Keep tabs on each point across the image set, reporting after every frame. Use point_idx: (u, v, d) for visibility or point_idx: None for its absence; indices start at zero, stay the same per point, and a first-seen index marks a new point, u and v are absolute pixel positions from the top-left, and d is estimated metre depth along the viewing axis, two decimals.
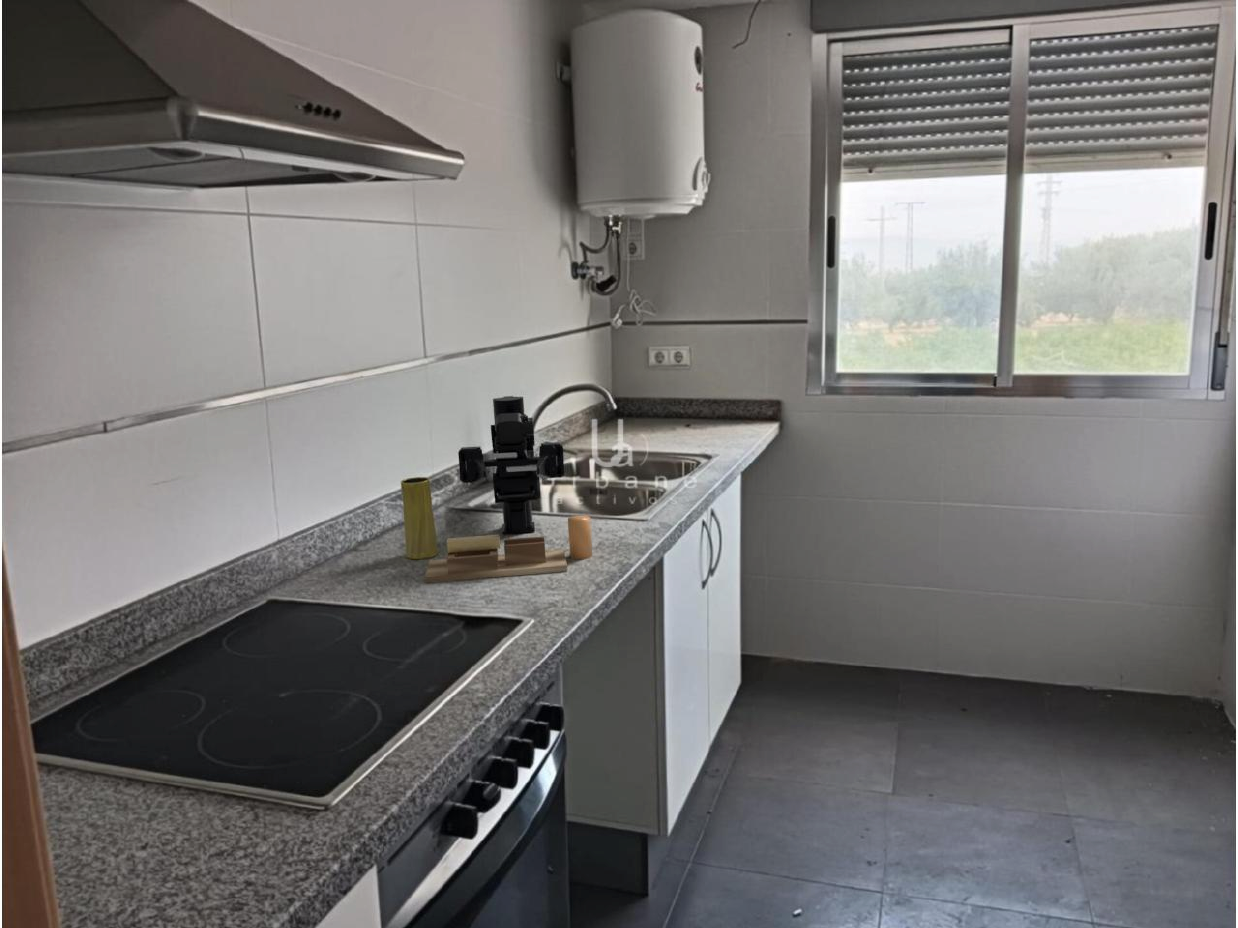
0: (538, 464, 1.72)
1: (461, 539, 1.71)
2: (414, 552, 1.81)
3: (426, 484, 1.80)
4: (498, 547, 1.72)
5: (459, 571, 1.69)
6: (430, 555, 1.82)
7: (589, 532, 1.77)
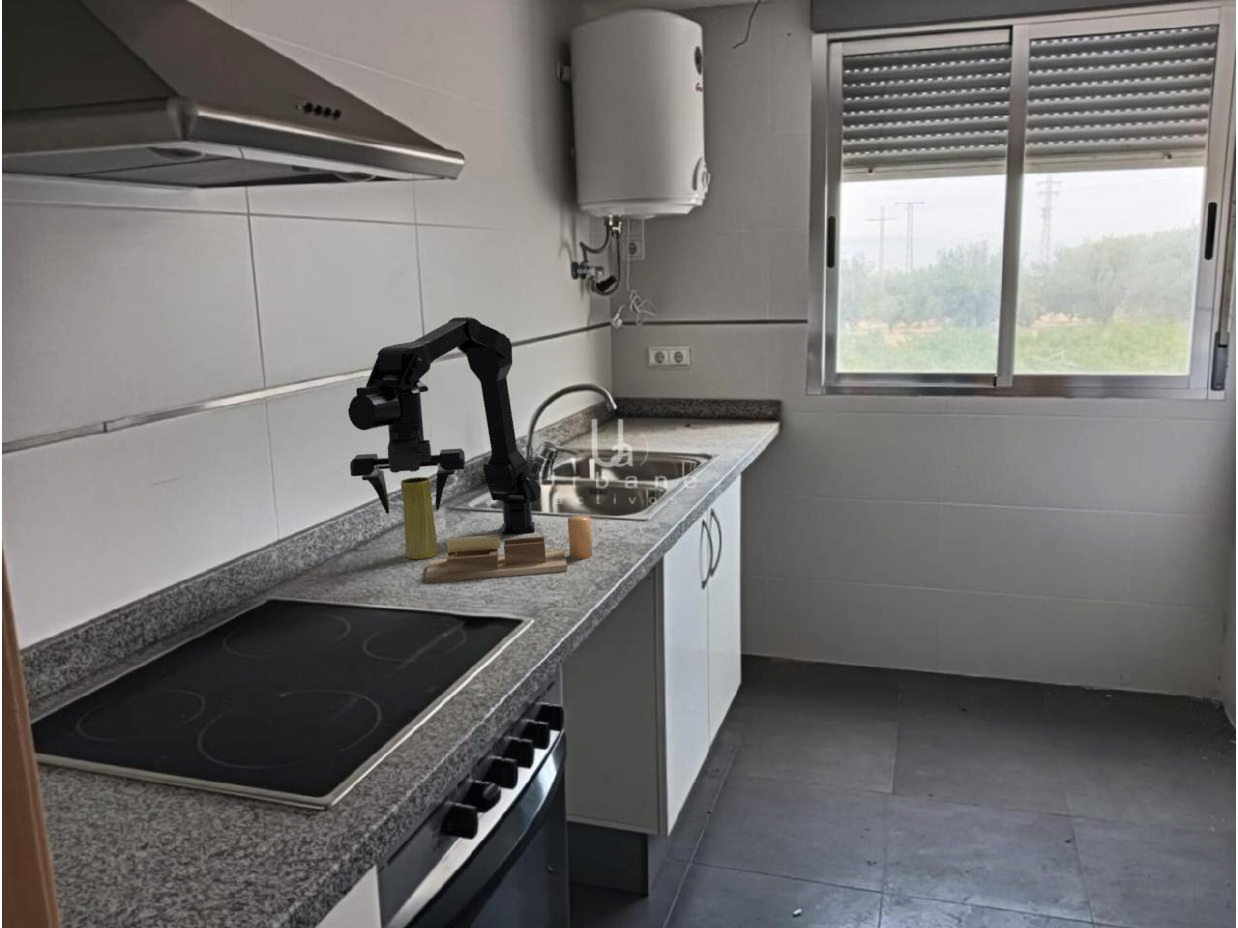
0: (437, 502, 1.69)
1: (461, 539, 1.71)
2: (414, 552, 1.81)
3: (426, 484, 1.80)
4: (498, 547, 1.72)
5: (459, 571, 1.69)
6: (430, 555, 1.82)
7: (589, 532, 1.77)
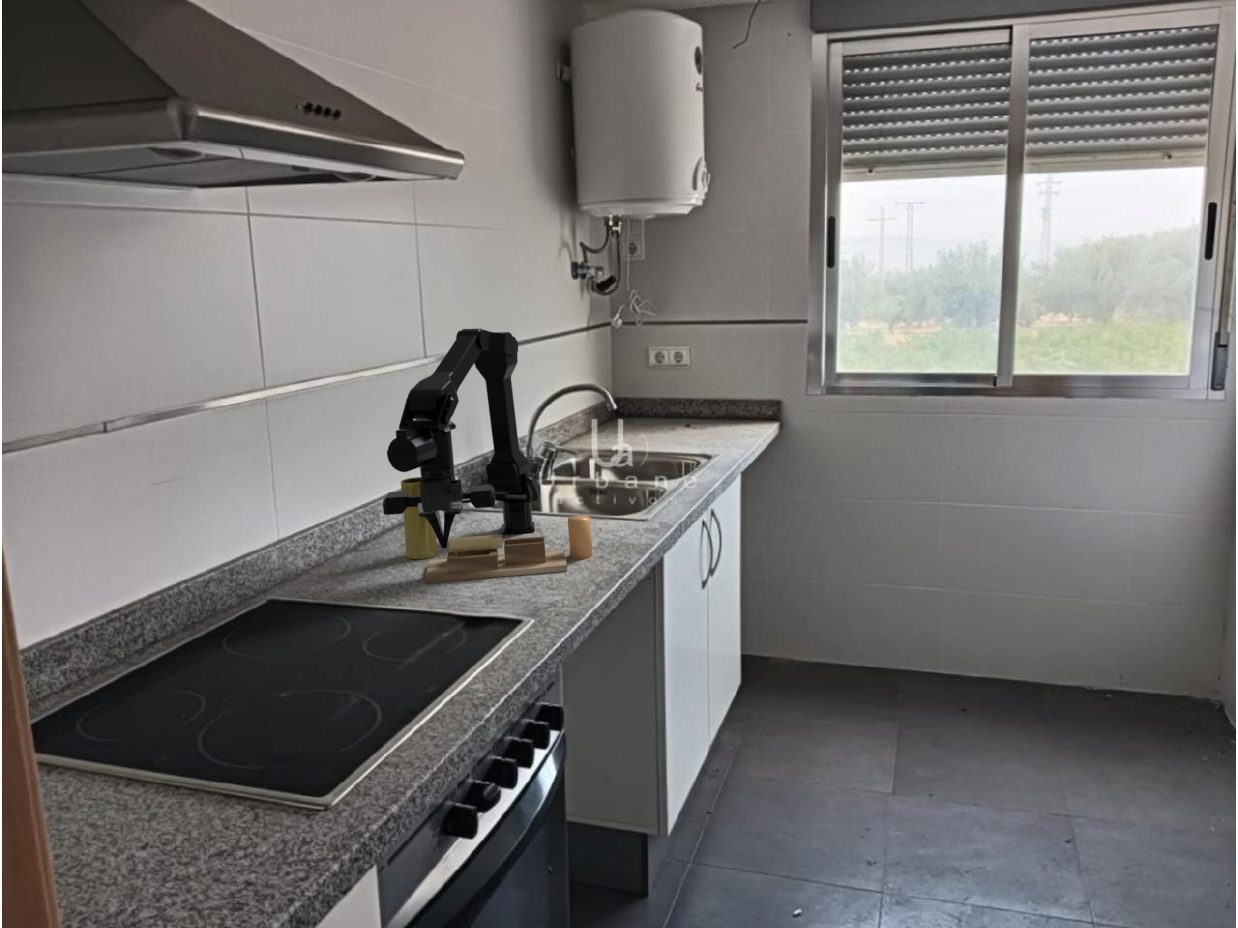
0: (445, 540, 1.71)
1: (463, 539, 1.71)
2: (414, 552, 1.81)
3: None
4: (500, 547, 1.72)
5: (459, 571, 1.69)
6: (430, 555, 1.82)
7: (589, 532, 1.77)
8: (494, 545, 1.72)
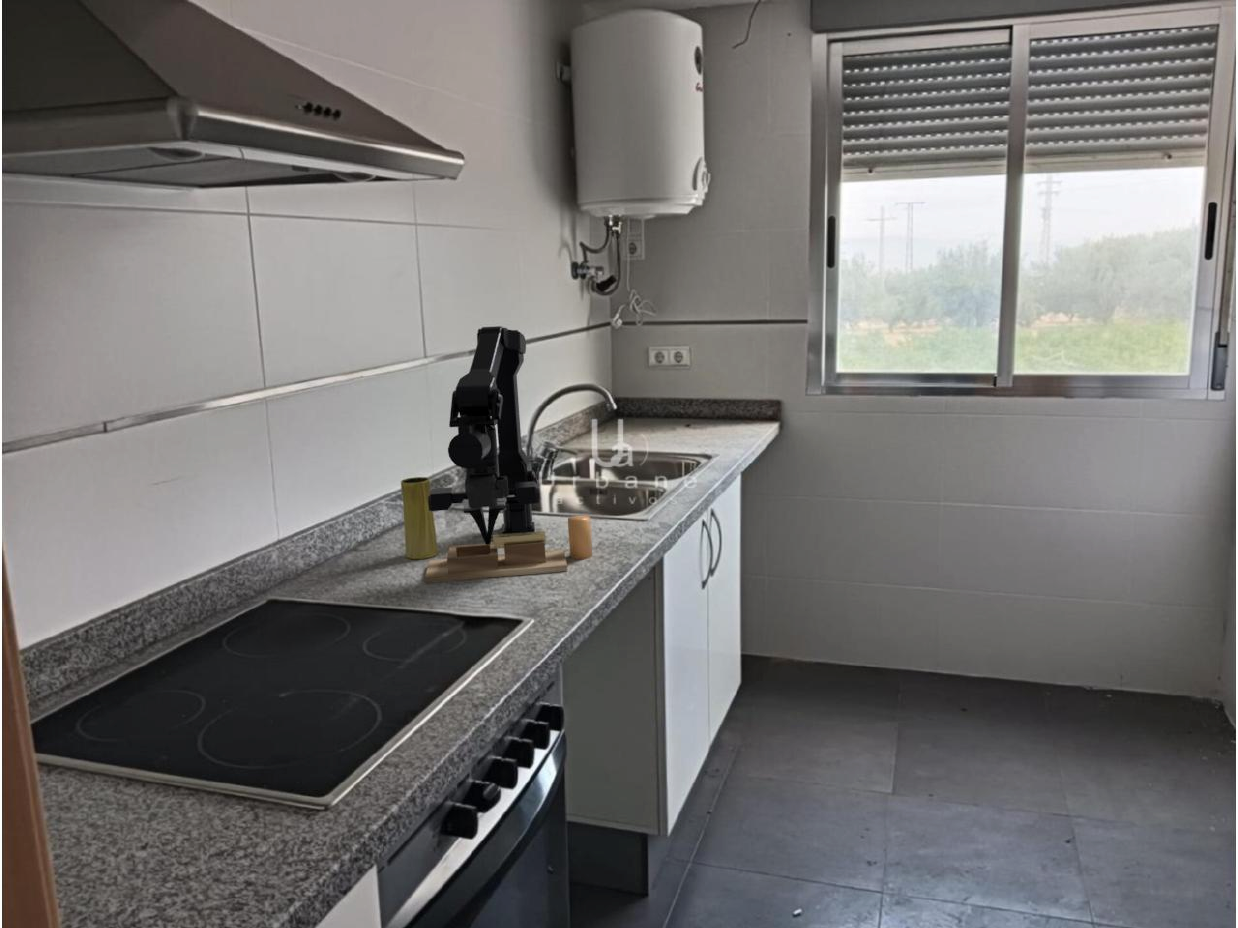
0: (489, 537, 1.72)
1: (507, 535, 1.72)
2: (414, 552, 1.81)
3: (426, 484, 1.80)
4: None
5: (459, 571, 1.69)
6: (430, 555, 1.82)
7: (589, 532, 1.77)
8: None
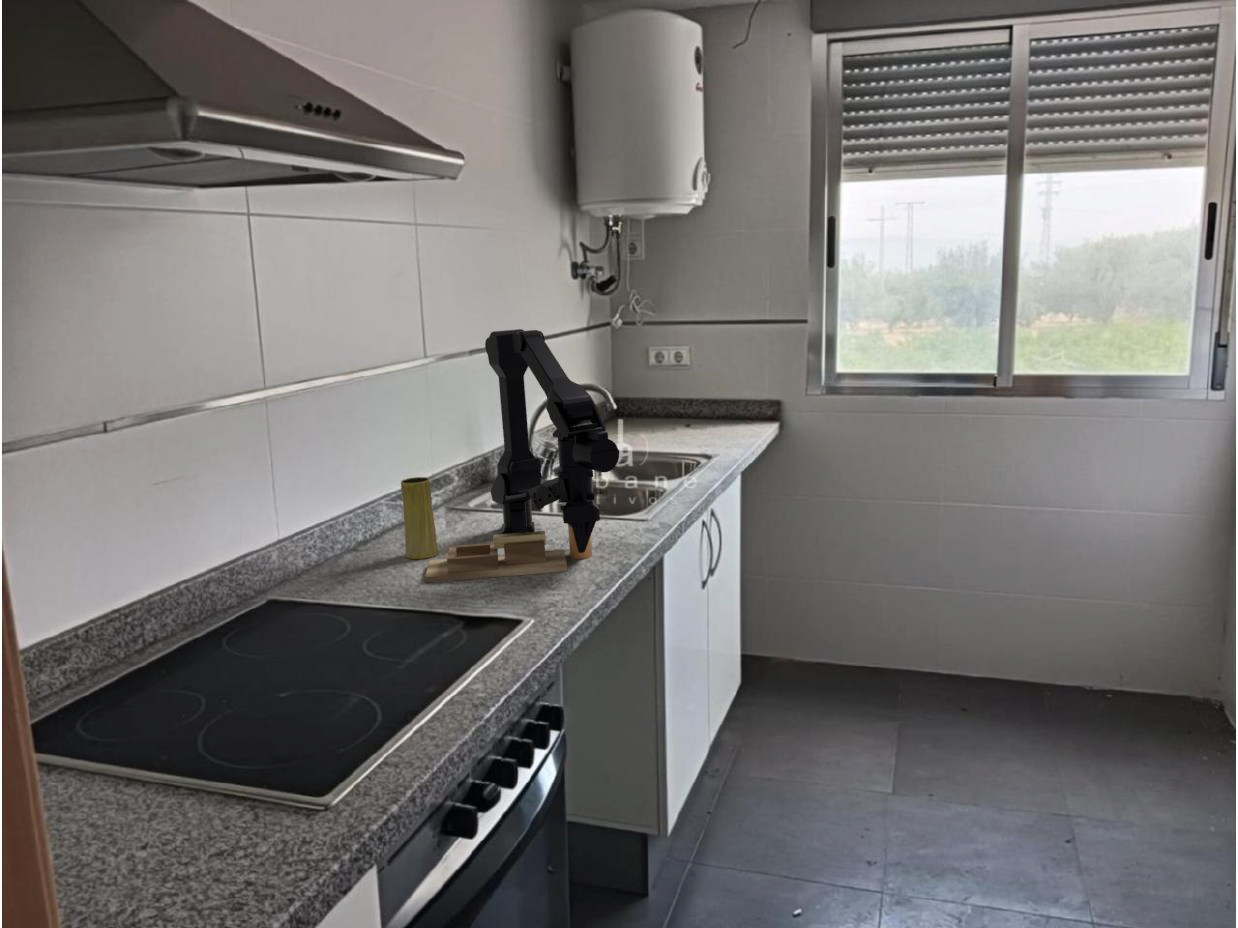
0: None
1: (507, 535, 1.72)
2: (414, 552, 1.81)
3: (426, 484, 1.80)
4: None
5: (459, 571, 1.69)
6: (430, 555, 1.82)
7: None
8: None
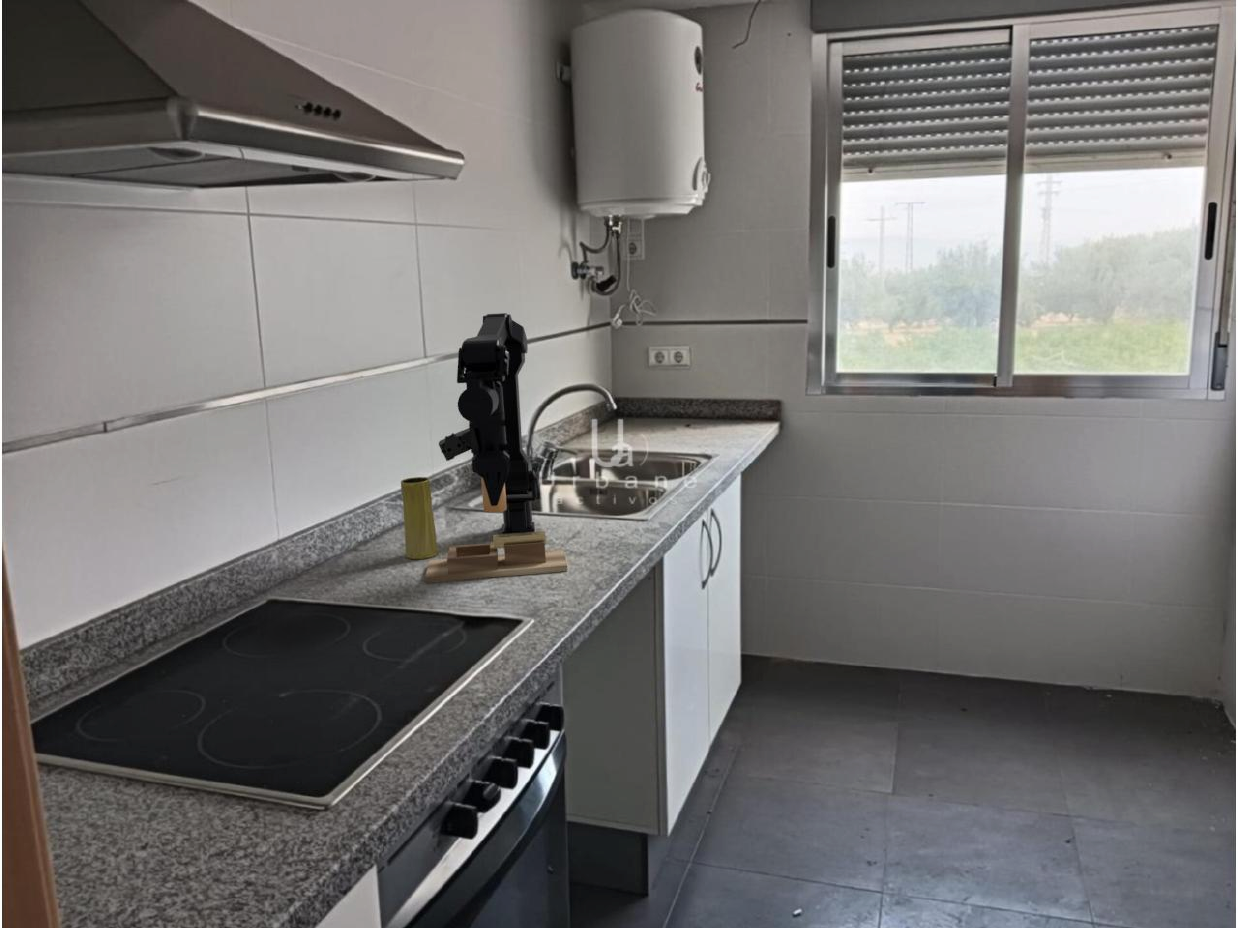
0: (489, 498, 1.69)
1: (507, 535, 1.72)
2: (414, 552, 1.81)
3: (426, 484, 1.80)
4: None
5: (459, 571, 1.69)
6: (430, 555, 1.82)
7: None
8: None
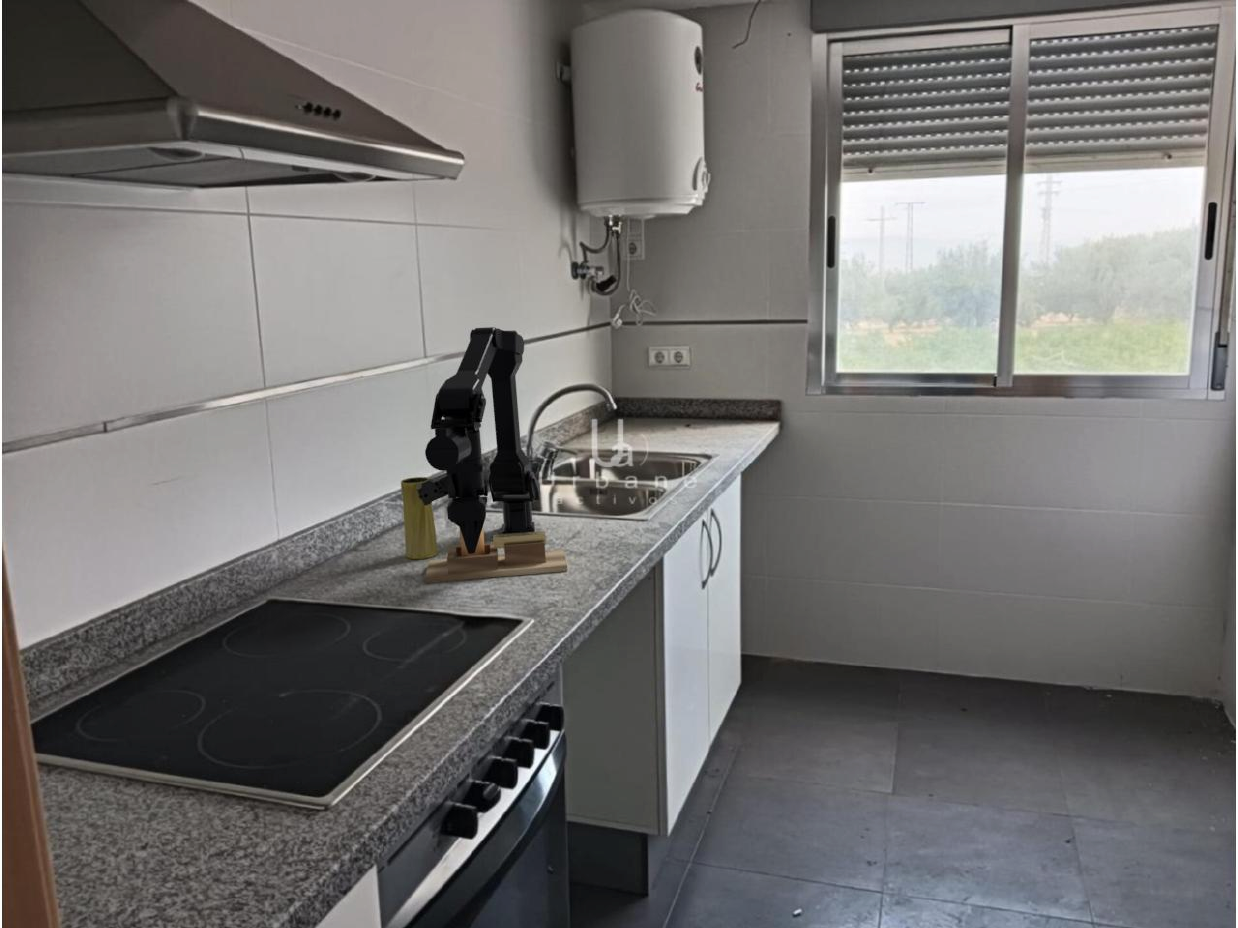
0: (466, 545, 1.68)
1: (507, 535, 1.72)
2: (414, 552, 1.81)
3: None
4: None
5: (459, 571, 1.69)
6: (430, 555, 1.82)
7: (482, 539, 1.71)
8: None
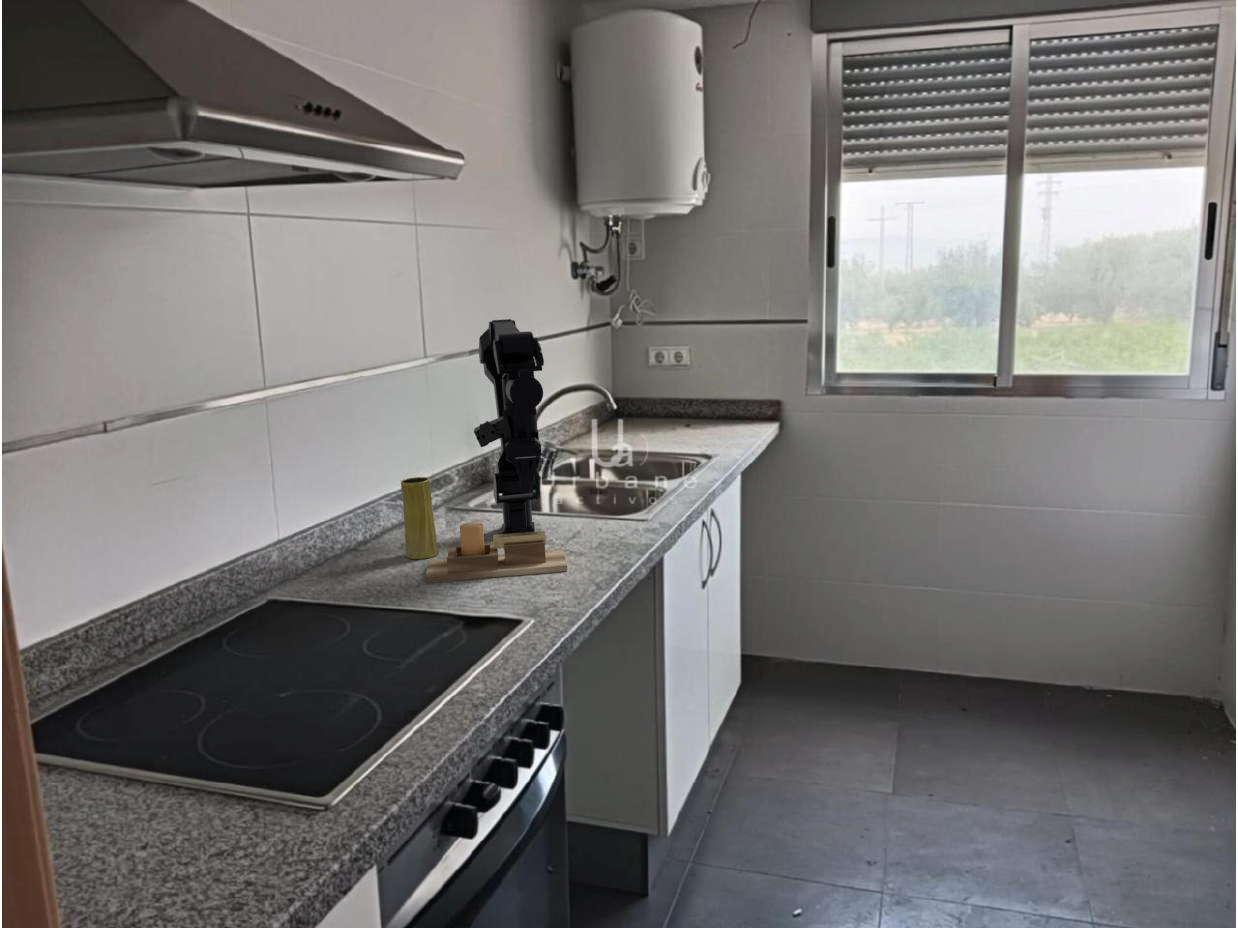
0: (521, 485, 1.76)
1: (507, 535, 1.72)
2: (414, 552, 1.81)
3: (426, 484, 1.80)
4: None
5: (459, 571, 1.69)
6: (430, 555, 1.82)
7: (482, 539, 1.71)
8: None
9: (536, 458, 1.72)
